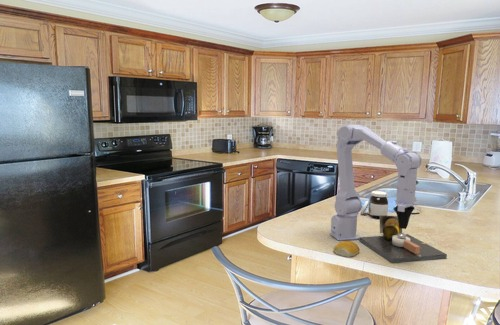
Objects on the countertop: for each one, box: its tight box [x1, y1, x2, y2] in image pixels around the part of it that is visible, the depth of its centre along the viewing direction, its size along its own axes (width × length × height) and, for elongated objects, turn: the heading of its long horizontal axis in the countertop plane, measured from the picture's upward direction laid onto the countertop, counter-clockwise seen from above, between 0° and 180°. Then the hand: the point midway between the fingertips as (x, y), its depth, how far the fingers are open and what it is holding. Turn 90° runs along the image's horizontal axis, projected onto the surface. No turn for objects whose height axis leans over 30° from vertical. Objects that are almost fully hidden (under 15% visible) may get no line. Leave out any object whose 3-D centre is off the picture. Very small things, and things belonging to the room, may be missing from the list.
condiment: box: [379, 215, 403, 239], centre depth 144 cm, size 7×8×12 cm
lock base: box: [358, 232, 448, 264], centre depth 135 cm, size 21×21×6 cm
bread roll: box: [333, 240, 360, 258], centre depth 131 cm, size 8×9×4 cm
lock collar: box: [392, 235, 420, 254], centre depth 132 cm, size 12×6×2 cm, turn 13°
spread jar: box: [360, 190, 389, 220], centre depth 177 cm, size 12×11×12 cm
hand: (402, 227), depth 127 cm, fingers closed
